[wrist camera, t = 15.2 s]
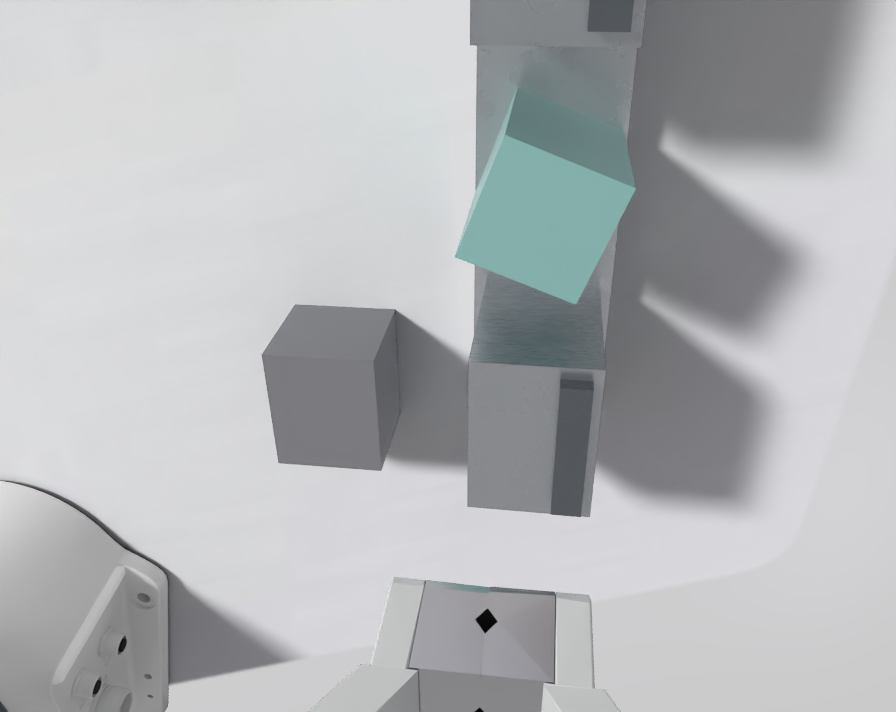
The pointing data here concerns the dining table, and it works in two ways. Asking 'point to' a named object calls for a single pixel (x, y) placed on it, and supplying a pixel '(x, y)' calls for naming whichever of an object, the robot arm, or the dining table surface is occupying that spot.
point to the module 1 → (334, 386)
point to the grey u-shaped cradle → (525, 308)
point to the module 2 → (548, 197)
